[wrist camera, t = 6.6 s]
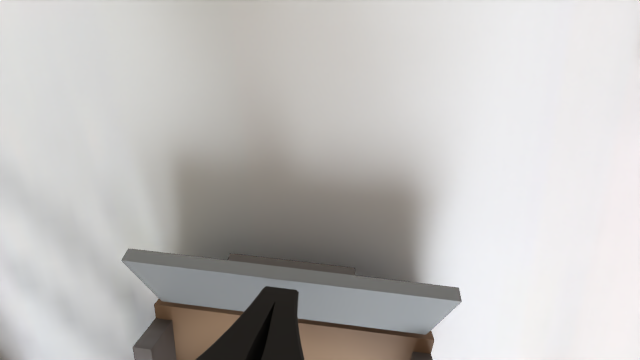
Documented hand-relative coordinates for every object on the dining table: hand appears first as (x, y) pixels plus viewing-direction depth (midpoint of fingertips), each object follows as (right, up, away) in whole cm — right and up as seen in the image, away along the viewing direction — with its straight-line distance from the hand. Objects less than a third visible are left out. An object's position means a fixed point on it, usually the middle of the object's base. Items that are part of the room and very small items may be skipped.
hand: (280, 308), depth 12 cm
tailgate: (0, -3, +5) cm, 5 cm away
